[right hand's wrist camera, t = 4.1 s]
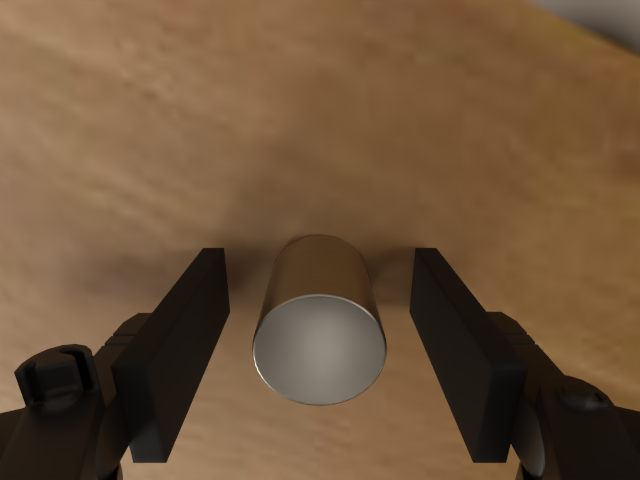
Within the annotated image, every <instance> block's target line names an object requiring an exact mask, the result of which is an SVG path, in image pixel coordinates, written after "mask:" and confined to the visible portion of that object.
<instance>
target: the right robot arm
mask: <svg viewBox="0 0 640 480" xmlns="http://www.w3.org/2000/svg"><path fill="white" fill-rule="evenodd" d="M229 313H230V307H229V297H228V286H227V276H226V266H225V256H224V248H203V249H202V250H201V252H200V253H199V254H198V256H197V257H196V258H195V259H194V261H193V262H192V263H191V264H190V266H189V267H188V268H187V270H186V271H185V272H184V273H183V275H182V276H181V277H180V278H179V280H178V281H177V282H176V283H175V285H174V286H173V287H172V289H171V290H170V291H169V292H168V294H167V295H166V296H165V297H164V299H163V300H162V301H161V303H160V304H159V305H158V306H157V308H156V309H155V310H154V311H153V313H138V314H136V315H135V316H133V317H131V318H130V319H128V320H127V321H125V322H123V323H122V325H121V326H120V327H119V328H118V329H117V330H116V331H115V332H114V334H113V336H111V337H110V338H109V339H108V340H107V341H106V343H105V346H102V347H101V348H100V349H99V351H98V352H97V353H96V354H95V355H94V356H93V355H92V351H91V349H89V348H88V347H87V346H84V345H78V344H70V345H61V346H58V347H54V348H50V349H47V350H45V351H43V352H41V353H38V354H36V355H34V356H32V357H31V358H29V359H28V360H26V361H25V362H23V363H22V364H21V365H20V366H19V367H18V368H17V370H16V371H15V372H14V373H15V376H16V379H17V382H18V385H19V388H20V390H21V393H22V396H23V399H24V402H25V405H26V406H25V408H22V409H18V410H13V411H9V412H4V413H0V480H123V474H122V468H121V464H120V460H121V458H122V457H123V455H124V453H125V451H126V449H127V448H128V446H130V450H131V455H132V459H133V463H166V462H167V460H168V457H169V455H170V453H171V450H172V448H173V445H174V443H175V441H176V438H177V436H178V434H179V431H180V429H181V427H182V424H183V422H184V419H185V417H186V415H187V412H188V410H189V408H190V405H191V403H192V401H193V398H194V396H195V394H196V391H197V389H198V386H199V384H200V382H201V379H202V377H203V375H204V372H205V370H206V368H207V365H208V363H209V360H210V358H211V356H212V353H213V351H214V349H215V346H216V344H217V342H218V339H219V337H220V334H221V332H222V330H223V327H224V325H225V323H226V320H227V318H228V316H229ZM410 314H411V317H412V319H413V321H414V324H415V326H416V328H417V331H418V333H419V336H420V338H421V340H422V343H423V345H424V347H425V350H426V352H427V354H428V357H429V359H430V362H431V364H432V366H433V369H434V371H435V373H436V376H437V378H438V380H439V383H440V385H441V388H442V390H443V392H444V395H445V397H446V399H447V402H448V404H449V406H450V409H451V411H452V414H453V416H454V418H455V421H456V423H457V425H458V428H459V430H460V432H461V435H462V437H463V439H464V442H465V444H466V447H467V449H468V451H469V454H470V456H471V458H472V461H473V463H506V461H507V457H508V452H509V448H510V444H511V445H512V446H513V448H514V450H515V452H516V454H517V455H518V457H519V459H520V464H519V468H518V471H517V475H516V479H515V480H640V412H639V411H634V410H630V409H625V408H621V407H617V406H614V404H613V403H612V401H611V400H610V399H609V397H608V396H607V395H606V394H604V393H603V392H602V391H600V390H599V389H598V388H597V387H595V386H593V385H591V384H589V383H587V382H585V381H583V380H580V379H577V378H574V377H571V376H565V375H564V374H563V373H562V372H561V371H560V370H559V368H558V367H557V366H556V365H555V364H554V363H553V362H552V361H551V359H550V358H549V357H548V356H547V355H546V354H545V353H544V352H543V350H542V349H541V348H540V347H539V346H538V345H537V344H535V341H534V340H533V339H532V338H531V337H530V336H529V335H527V333H526V331H525V330H524V329H523V328H522V327H521V326H520V325H519V324H518V322H517V321H515V320H514V319H512V318H510V317H509V316H507V315H505V314H504V313H502V312H486V311H485V310H484V308H483V307H482V306H481V304H480V303H479V302H478V301H477V299H476V298H475V297H474V296H473V294H472V293H471V292H470V290H469V289H468V288H467V287H466V285H465V284H464V283H463V282H462V280H461V279H460V278H459V276H458V275H457V274H456V273H455V271H454V270H453V269H452V268H451V266H450V265H449V264H448V263H447V261H446V260H445V259H444V257H443V256H442V255H441V254H440V252H439V251H438V250H437V249H436V248H416V251H415V261H414V271H413V282H412V292H411V302H410Z"/></svg>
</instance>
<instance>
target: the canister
mask: <svg viewBox="0 0 640 480" xmlns="http://www.w3.org/2000/svg"><path fill="white" fill-rule="evenodd" d="M252 351H253V359H254V363H255V365H256V368H257V370H258V372H259V374H260V376H261V377H262V379H263V380H264V381H265V382H266V384H267V385H268V386H269V387H270V388H271V389H273V390H274V391H275V392H277V393H278V394H280V395H281V396H283V397H285V398H287V399H289V400H292V401H295V402H298V403H302V404H307V405H316V406H323V405H333V404H337V403H341V402H344V401H347V400H350V399H352V398H354V397H356V396H358V395H359V394H361V393H363V392H364V391H365V390H366V389H368V388H369V387H370V386H371V385H372V384H373V383H374V381H375V380H376V379H377V377H378V376H379V374H380V372H381V371H382V368H383V366H384V363H385V359H386V353H387V345H386V338H385V334H384V331H383V327H382V323H381V320H380V316H379V313H378V309H377V305H376V302H375V298H374V295H373V291H372V287H371V284H370V280H369V277H368V273H367V269H366V266H365V263H364V261H363V259H362V257H361V256H360V254H359V253H358V252H357V251H356V250H355V249H354V248H353V247H352V246H351V245H349V244H348V243H346V242H345V241H343V240H341V239H338V238H335V237H331V236H325V235H314V236H308V237H304V238H301V239H299V240H296V241H295V242H293V243H291V244H290V245H289V246H287V247H286V248H285V249H284V250H283V251H282V252H281V253H280V255H279V256H278V258H277V260H276V261H275V264H274V266H273V270H272V274H271V277H270V281H269V284H268V288H267V291H266V295H265V299H264V302H263V306H262V309H261V313H260V317H259V320H258V324H257V327H256V331H255V334H254V339H253V346H252Z"/></svg>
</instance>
